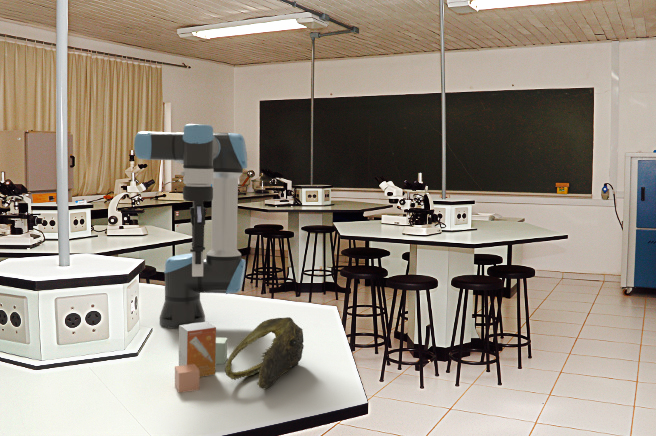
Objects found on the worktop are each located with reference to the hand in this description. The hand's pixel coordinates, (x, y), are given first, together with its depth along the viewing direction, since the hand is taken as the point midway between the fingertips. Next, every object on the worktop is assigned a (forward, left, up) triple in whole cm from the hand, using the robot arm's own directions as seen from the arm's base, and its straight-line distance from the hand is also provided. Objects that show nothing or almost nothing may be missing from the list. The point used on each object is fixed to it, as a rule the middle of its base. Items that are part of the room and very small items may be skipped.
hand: (197, 275), depth 158 cm
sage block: (-9, +6, -27) cm, 29 cm away
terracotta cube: (+9, -3, -27) cm, 28 cm away
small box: (0, 0, -27) cm, 27 cm away
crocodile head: (+6, +19, -27) cm, 33 cm away
